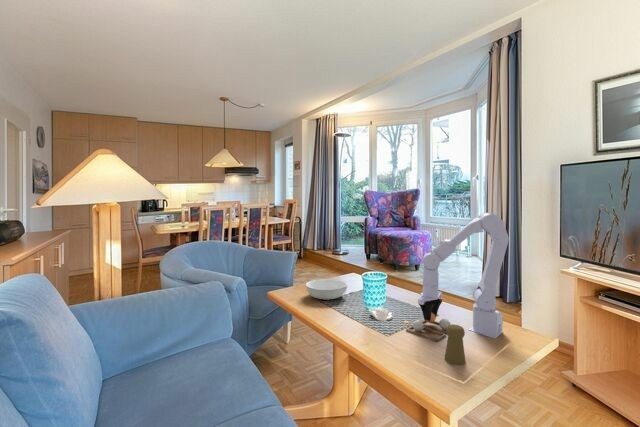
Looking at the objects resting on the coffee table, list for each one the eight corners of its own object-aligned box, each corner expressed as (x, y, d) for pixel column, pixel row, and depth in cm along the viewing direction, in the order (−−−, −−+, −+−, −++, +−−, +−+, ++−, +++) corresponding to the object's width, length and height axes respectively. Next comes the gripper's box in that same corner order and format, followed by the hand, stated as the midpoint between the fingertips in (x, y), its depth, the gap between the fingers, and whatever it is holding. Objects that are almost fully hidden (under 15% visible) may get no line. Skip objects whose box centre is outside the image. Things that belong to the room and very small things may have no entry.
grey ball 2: (452, 329, 121) (452, 319, 120) (447, 332, 118) (447, 322, 118) (442, 326, 124) (442, 316, 123) (437, 329, 121) (437, 319, 121)
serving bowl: (354, 295, 166) (354, 281, 165) (334, 306, 148) (334, 292, 148) (320, 289, 177) (320, 276, 176) (297, 299, 159) (297, 285, 159)
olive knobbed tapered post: (440, 356, 101) (441, 322, 101) (459, 355, 102) (459, 321, 101) (450, 366, 95) (450, 330, 95) (469, 365, 96) (470, 329, 95)
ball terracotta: (437, 322, 125) (437, 312, 125) (431, 325, 122) (432, 314, 122) (428, 319, 128) (428, 309, 128) (422, 322, 126) (422, 312, 125)
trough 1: (445, 337, 115) (446, 334, 115) (437, 343, 111) (437, 339, 111) (415, 327, 124) (415, 324, 124) (406, 331, 120) (406, 328, 120)
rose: (365, 308, 134) (375, 302, 141) (365, 318, 134) (375, 312, 142) (387, 313, 128) (397, 306, 136) (387, 324, 128) (397, 316, 136)
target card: (423, 325, 126) (423, 324, 126) (416, 329, 122) (416, 328, 122) (405, 319, 132) (405, 318, 132) (398, 323, 128) (398, 322, 128)
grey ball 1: (426, 331, 120) (426, 320, 119) (420, 334, 117) (420, 323, 117) (416, 328, 123) (416, 317, 122) (410, 330, 120) (410, 320, 120)
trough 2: (457, 330, 121) (457, 327, 120) (449, 335, 116) (449, 332, 116) (426, 321, 130) (426, 318, 130) (418, 325, 126) (418, 322, 126)
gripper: (430, 278, 132) (430, 311, 133) (411, 285, 123) (410, 320, 123) (447, 282, 127) (446, 316, 128) (428, 289, 117) (427, 325, 118)
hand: (430, 318), depth 125 cm, fingers closed on ball terracotta, 4 cm apart
